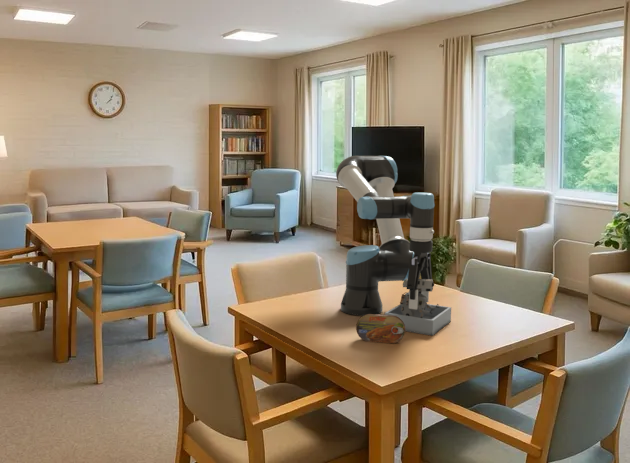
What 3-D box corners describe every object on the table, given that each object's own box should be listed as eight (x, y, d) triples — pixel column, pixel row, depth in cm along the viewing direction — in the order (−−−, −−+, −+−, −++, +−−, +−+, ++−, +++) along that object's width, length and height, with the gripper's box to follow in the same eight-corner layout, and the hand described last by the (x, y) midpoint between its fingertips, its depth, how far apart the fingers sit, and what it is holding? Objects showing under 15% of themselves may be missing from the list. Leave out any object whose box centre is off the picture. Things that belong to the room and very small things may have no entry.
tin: (355, 340, 195) (356, 314, 194) (357, 337, 198) (357, 311, 197) (404, 344, 191) (405, 317, 190) (405, 341, 194) (406, 315, 193)
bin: (384, 327, 208) (384, 312, 208) (405, 314, 224) (405, 300, 224) (432, 335, 200) (433, 320, 200) (450, 321, 216) (451, 307, 216)
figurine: (429, 328, 205) (432, 283, 203) (396, 322, 211) (398, 279, 209) (438, 322, 213) (441, 278, 211) (406, 316, 219) (408, 274, 216)
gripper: (419, 245, 197) (417, 314, 200) (443, 236, 216) (440, 299, 219) (397, 243, 200) (395, 311, 204) (422, 234, 220) (420, 296, 223)
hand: (418, 305), depth 211 cm, fingers open, 10 cm apart
